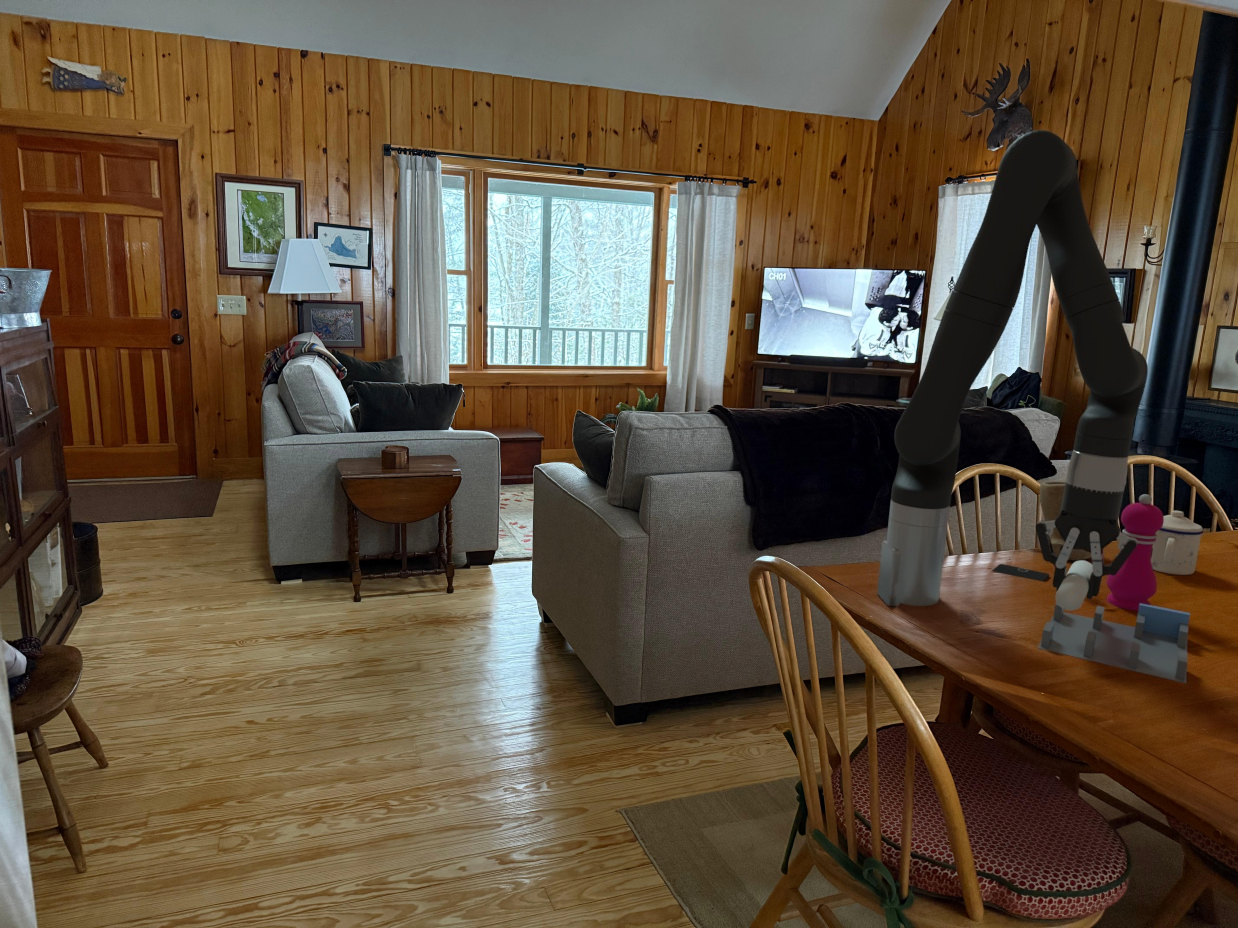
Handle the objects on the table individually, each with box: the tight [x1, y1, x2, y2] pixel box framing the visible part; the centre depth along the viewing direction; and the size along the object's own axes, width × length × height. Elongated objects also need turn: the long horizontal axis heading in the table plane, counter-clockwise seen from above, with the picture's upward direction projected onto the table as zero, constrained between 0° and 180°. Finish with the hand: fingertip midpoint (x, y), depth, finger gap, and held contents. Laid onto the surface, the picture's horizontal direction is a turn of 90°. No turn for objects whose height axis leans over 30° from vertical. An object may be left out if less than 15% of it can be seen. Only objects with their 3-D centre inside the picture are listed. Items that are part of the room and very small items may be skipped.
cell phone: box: [991, 563, 1050, 583], centre depth 153 cm, size 9×18×1 cm, turn 142°
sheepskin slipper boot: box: [1039, 480, 1092, 561], centre depth 172 cm, size 15×12×15 cm
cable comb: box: [1037, 601, 1191, 684], centre depth 123 cm, size 19×18×5 cm
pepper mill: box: [1106, 493, 1164, 611], centre depth 139 cm, size 7×7×20 cm
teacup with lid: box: [1151, 510, 1204, 576], centre depth 162 cm, size 12×9×12 cm
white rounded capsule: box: [1054, 559, 1093, 612], centre depth 125 cm, size 16×4×4 cm, turn 145°
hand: (1074, 593), depth 126 cm, fingers closed on white rounded capsule, 3 cm apart
